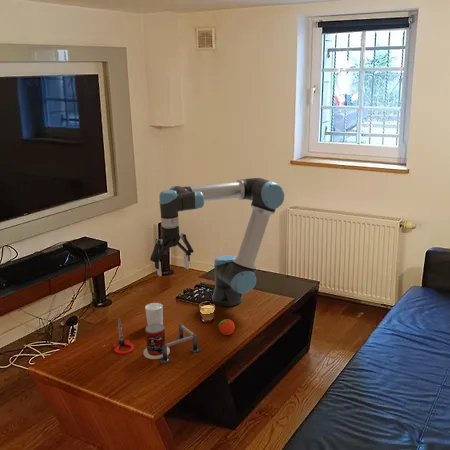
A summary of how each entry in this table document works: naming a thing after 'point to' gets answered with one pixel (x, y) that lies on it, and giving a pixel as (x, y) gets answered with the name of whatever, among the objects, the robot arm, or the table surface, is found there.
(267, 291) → the table surface
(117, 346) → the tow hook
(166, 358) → the grey angled bar frame
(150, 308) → the white cup
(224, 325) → the clementine
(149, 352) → the canned food
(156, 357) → the coaster
